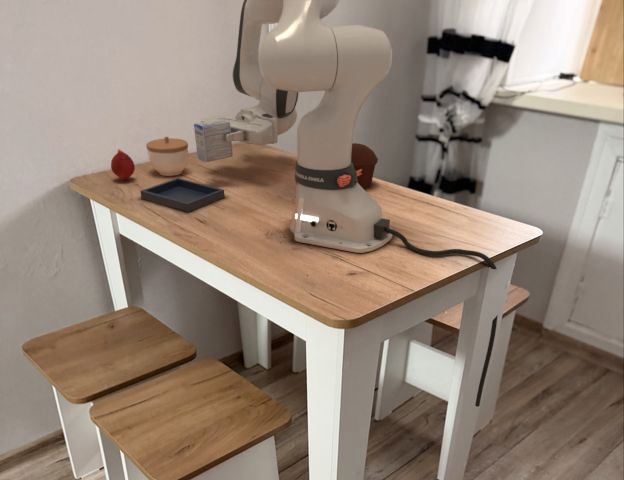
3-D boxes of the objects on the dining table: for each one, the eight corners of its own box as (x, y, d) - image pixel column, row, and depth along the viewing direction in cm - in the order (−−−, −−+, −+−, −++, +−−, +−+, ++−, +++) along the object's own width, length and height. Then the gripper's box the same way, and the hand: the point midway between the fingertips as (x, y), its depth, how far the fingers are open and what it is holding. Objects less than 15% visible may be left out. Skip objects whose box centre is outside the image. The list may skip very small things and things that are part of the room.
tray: (224, 197, 146) (224, 189, 145) (188, 212, 137) (187, 204, 136) (178, 185, 153) (177, 177, 152) (141, 198, 144) (140, 190, 143)
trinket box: (198, 172, 163) (195, 136, 157) (166, 181, 156) (162, 144, 151) (174, 164, 168) (170, 129, 163) (142, 172, 162) (137, 137, 156)
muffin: (385, 185, 155) (388, 146, 150) (355, 194, 149) (357, 154, 143) (352, 175, 162) (354, 137, 157) (323, 183, 156) (324, 144, 151)
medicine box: (224, 154, 154) (220, 118, 149) (233, 157, 151) (230, 121, 146) (197, 159, 150) (193, 123, 145) (206, 163, 147) (202, 126, 142)
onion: (139, 177, 158) (135, 146, 154) (132, 184, 153) (127, 152, 149) (118, 176, 159) (113, 145, 154) (110, 183, 154) (104, 151, 150)
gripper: (220, 107, 160) (184, 117, 151) (281, 118, 151) (246, 129, 141) (222, 131, 164) (186, 142, 154) (282, 143, 154) (248, 156, 145)
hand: (215, 136), depth 148 cm, fingers closed on medicine box, 5 cm apart
